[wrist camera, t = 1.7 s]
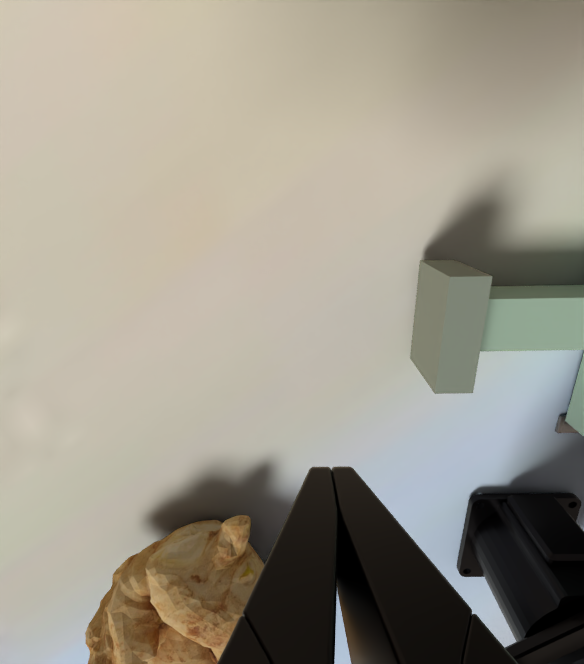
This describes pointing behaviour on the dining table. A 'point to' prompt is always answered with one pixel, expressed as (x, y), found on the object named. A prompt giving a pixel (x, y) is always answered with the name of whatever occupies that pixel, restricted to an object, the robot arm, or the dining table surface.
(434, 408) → the dining table surface
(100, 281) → the dining table surface
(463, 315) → the cart
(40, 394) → the dining table surface
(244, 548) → the ginger root
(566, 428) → the rails
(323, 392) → the dining table surface
